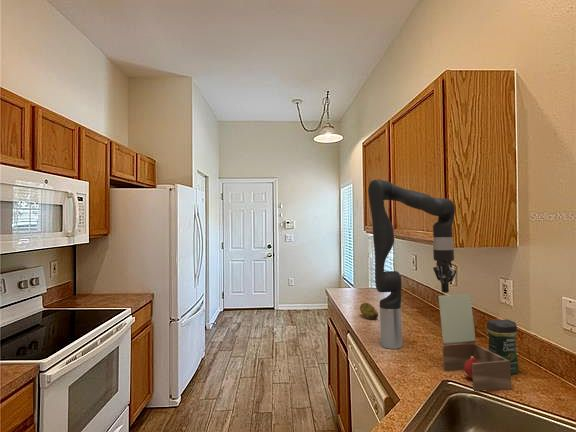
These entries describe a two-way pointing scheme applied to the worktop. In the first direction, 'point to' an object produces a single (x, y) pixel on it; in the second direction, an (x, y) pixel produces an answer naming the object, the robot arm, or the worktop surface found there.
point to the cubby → (479, 366)
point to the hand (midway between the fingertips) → (445, 292)
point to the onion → (470, 365)
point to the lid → (456, 319)
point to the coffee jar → (503, 341)
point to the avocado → (368, 311)
